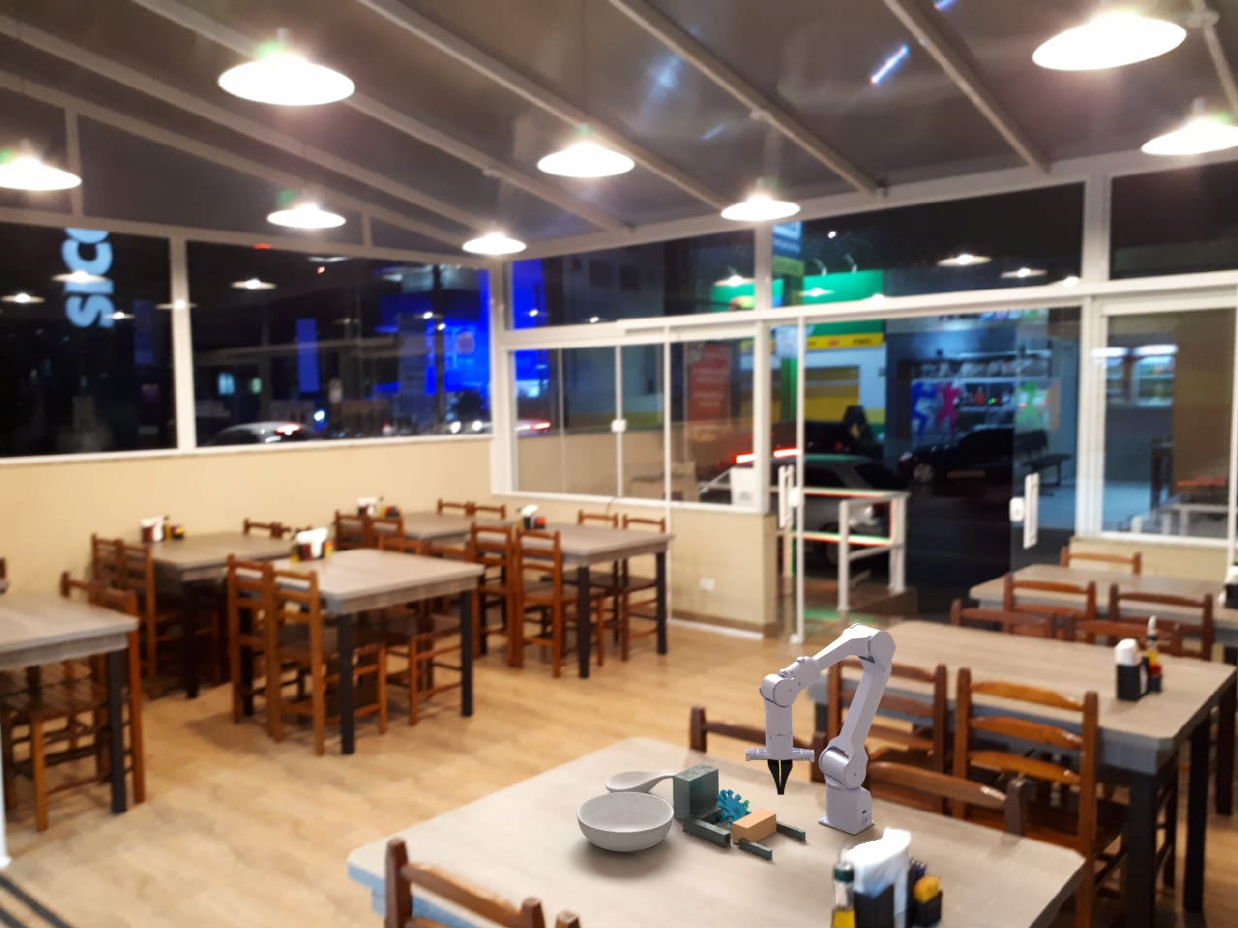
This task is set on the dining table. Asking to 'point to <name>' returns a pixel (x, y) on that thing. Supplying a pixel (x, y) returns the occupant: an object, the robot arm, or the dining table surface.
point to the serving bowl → (625, 820)
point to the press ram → (755, 826)
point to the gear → (731, 807)
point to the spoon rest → (637, 780)
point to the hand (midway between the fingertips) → (780, 792)
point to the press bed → (713, 811)
